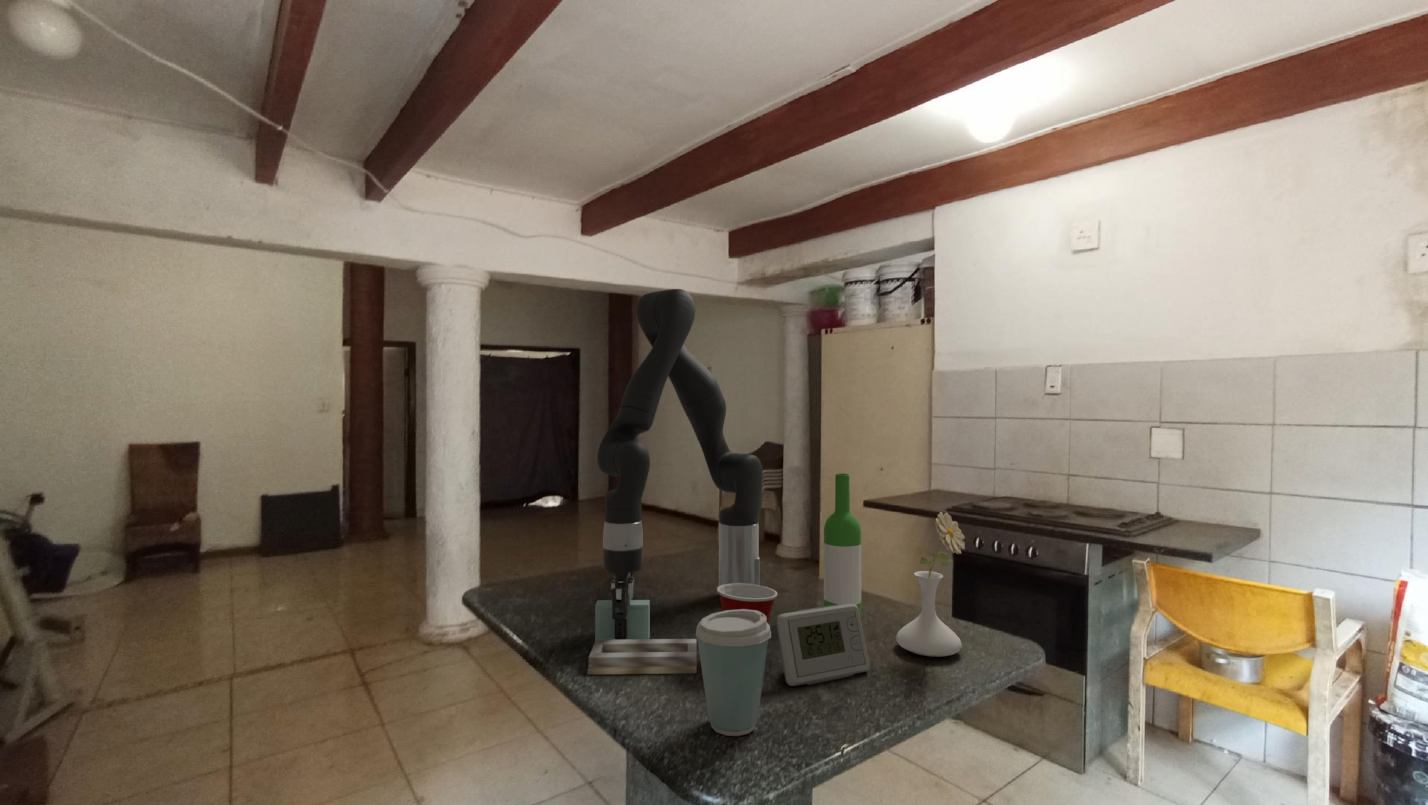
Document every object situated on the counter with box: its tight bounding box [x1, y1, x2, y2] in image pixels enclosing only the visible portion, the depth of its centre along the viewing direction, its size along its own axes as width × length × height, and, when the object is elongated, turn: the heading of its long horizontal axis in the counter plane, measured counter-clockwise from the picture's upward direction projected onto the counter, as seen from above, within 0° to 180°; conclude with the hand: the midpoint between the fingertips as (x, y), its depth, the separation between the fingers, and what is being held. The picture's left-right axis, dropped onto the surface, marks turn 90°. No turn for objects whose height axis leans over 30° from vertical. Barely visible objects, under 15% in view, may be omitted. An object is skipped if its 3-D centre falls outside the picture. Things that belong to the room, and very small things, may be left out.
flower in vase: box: [895, 511, 966, 658], centre depth 116 cm, size 13×11×25 cm
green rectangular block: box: [594, 599, 651, 642], centre depth 121 cm, size 10×3×7 cm, turn 92°
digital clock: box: [775, 604, 870, 687], centre depth 105 cm, size 16×9×11 cm, turn 102°
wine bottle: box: [823, 473, 862, 615], centre depth 134 cm, size 8×8×30 cm
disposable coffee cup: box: [695, 609, 772, 737], centre depth 88 cm, size 11×11×15 cm
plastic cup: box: [716, 583, 778, 625], centre depth 112 cm, size 11×11×12 cm
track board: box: [587, 638, 698, 675], centre depth 110 cm, size 18×10×2 cm, turn 92°
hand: (622, 632), depth 121 cm, fingers open, 5 cm apart
